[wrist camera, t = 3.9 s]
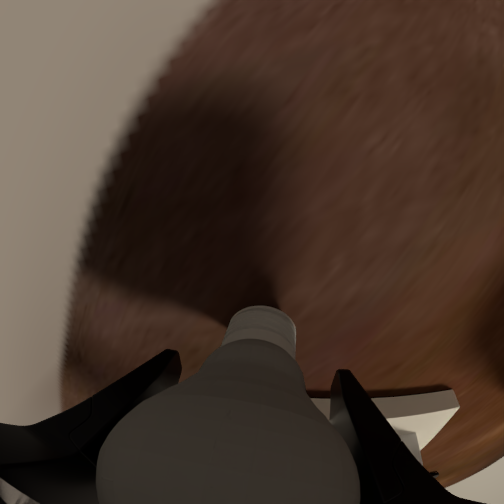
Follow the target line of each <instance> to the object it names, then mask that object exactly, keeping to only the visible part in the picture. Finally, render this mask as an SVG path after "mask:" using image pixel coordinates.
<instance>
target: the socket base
mask: <svg viewBox="0 0 504 504" xmlns="http://www.w3.org/2000/svg"><path fill="white" fill-rule="evenodd" d="M310 399H311V400H312V401H313V403H314V404H315V406H316V407H317V408H318V409H319V410H320V411H321V412H322V413H323V414H324V415H325V416H326V418H327V419H328V420H329V418H330V399H319V398H310ZM371 399H372V401H373V402H374V403H375V405H376V406H377V407H378V409H379V410H380V411H381V413H382V414H383V415H384V417H385V418H386V419H387V421H388V422H389V423H390V425H391V426H392V427H393V429H394V430H395V431H396V433H397V434H398V436H399V437H400V438H401V441H403V442H404V443H405V445H406V446H407V448H408V449H409V450H410V451H411V453H412V454H413V455H414V456H415V458H416V459H417V460H418V461H419V462H420V463H421V464H422V466H423V463H422V458H421V453H420V450H421V449H422V448H423V447H424V446H425V445H426V444H427V443H428V442H429V441H430V440H431V439H432V438H433V437H434V436H435V435H436V434H437V433H438V432H439V431H440V430H441V429H442V427H443V426H444V425H445V424H446V423H447V422H448V421H449V419H450V418H451V417H452V416H453V415H454V413H455V412H456V411H457V410H458V409H459V407H460V406H459V403H458V401H457V398H456V396H455V393H454V391H453V389H452V390H446V391H440V392H433V393H426V394H418V395H409V396H398V397H385V398H371Z"/></svg>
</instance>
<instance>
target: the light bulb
mask: <svg viewBox="0 0 504 504" xmlns="http://www.w3.org/2000/svg"><path fill="white" fill-rule="evenodd" d="M295 347H296V328H295V325H294V323H293V321H292V320H291V319H290V317H289V316H288V315H286V314H285V313H284V312H282V311H280V310H278V309H276V308H273V307H269V306H250V307H247V308H244V309H242V310H240V311H238V312H237V313H236V314H235V315H234V316H233V317H232V319H231V321H230V323H229V326H228V329H227V331H226V334H225V337H224V340H223V342H222V345H221V347H219V348H218V349H217V350H215V351H214V352H213V353H212V354H211V355H210V356H208V358H207V359H206V361H205V362H204V364H203V365H202V367H201V368H200V370H199V372H197V373H196V374H194V375H193V376H191V377H189V378H188V379H186V380H184V381H183V382H181V383H179V384H176V385H174V386H171V387H169V388H167V389H166V390H164V391H162V392H160V393H158V394H156V395H154V396H152V397H150V398H148V399H146V400H144V401H143V402H141V403H140V404H139V405H137V406H136V407H135V408H134V409H132V410H131V411H130V412H129V413H128V414H126V415H125V416H124V417H123V418H122V419H121V420H120V421H119V422H118V423H117V424H116V426H115V427H114V428H113V429H112V431H111V432H110V433H109V435H108V436H107V438H106V440H105V442H104V443H103V445H102V447H101V449H100V452H99V456H98V460H97V468H96V489H97V497H98V501H99V504H360V480H359V476H358V471H357V467H356V464H355V462H354V459H353V456H352V454H351V452H350V450H349V448H348V446H347V444H346V442H345V441H344V439H343V437H342V436H341V435H340V434H339V433H338V431H337V430H336V429H335V428H334V427H333V425H332V424H331V423H330V422H329V420H328V419H327V418H326V416H325V415H324V414H323V413H322V412H321V411H320V410H319V409H318V408H317V407H316V406H315V404H314V403H313V401H312V400H311V399H310V397H309V396H308V394H307V393H306V389H305V382H304V378H303V374H302V371H301V369H300V367H299V365H298V364H297V362H296V361H295Z"/></svg>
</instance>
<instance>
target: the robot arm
mask: <svg viewBox="0 0 504 504" xmlns="http://www.w3.org/2000/svg"><path fill="white" fill-rule="evenodd" d="M181 371H182V366H181V361H180V356H179V353H178V351H176V350H171V349H166V350H164V351H162V352H161V353H159V354H158V355H156V356H155V357H153V358H152V359H150V360H149V361H147V362H146V363H144V364H142V365H141V366H139V367H138V368H136V369H135V370H133V371H131V372H130V373H128V374H127V375H125V376H124V377H122V378H120V379H119V380H117V381H116V382H114V383H112V384H111V385H109V386H108V387H106V388H104V389H103V390H101V391H99V392H98V393H96V394H95V395H93V396H92V397H89V398H88V399H86V400H84V401H83V402H81V403H79V404H77V405H76V406H74V407H72V408H70V409H68V410H66V411H64V412H62V413H59V414H57V415H55V416H53V417H50V418H48V419H46V420H43V421H41V422H38V423H36V424H33V425H28V426H17V425H10V424H3V423H0V504H99V501H98V497H97V489H96V468H97V460H98V456H99V452H100V449H101V447H102V445H103V443H104V442H105V440H106V438H107V436H108V435H109V433H110V432H111V431H112V429H113V428H114V427H115V426H116V424H117V423H118V422H119V421H120V420H121V419H122V418H123V417H124V416H125V415H126V414H128V413H129V412H130V411H131V410H132V409H134V408H135V407H136V406H137V405H139V404H140V403H141V402H143V401H144V400H146V399H148V398H150V397H152V396H154V395H156V394H158V393H160V392H162V391H164V390H166V389H167V388H169V387H171V386H174V385H176V384H178V382H179V378H180V375H181ZM329 422H330V423H331V424H332V425H333V427H334V428H335V429H336V430H337V431H338V433H339V434H340V435H341V436H342V437H343V439H344V441H345V442H346V444H347V446H348V448H349V450H350V452H351V454H352V456H353V459H354V462H355V464H356V467H357V471H358V476H359V480H360V504H486V503H481V502H476V501H471V500H467V499H463V498H459V497H457V496H455V495H453V494H451V493H450V492H448V491H447V490H446V489H445V488H444V487H443V486H442V485H441V484H440V483H439V482H438V481H437V480H436V479H435V478H436V477H437V476H438V475H439V473H438V472H437V473H433V474H430V473H429V472H428V471H427V470H426V469H425V468H424V467H423V466H422V464H421V463H420V462H419V461H418V460H417V459H416V458H415V456H414V455H413V454H412V453H411V451H410V450H409V449H408V448H407V446H406V445H405V443H404V442H403V441H401V438H400V437H399V436H398V434H397V433H396V431H395V430H394V429H393V427H392V426H391V425H390V423H389V422H388V421H387V419H386V418H385V417H384V415H383V414H382V413H381V411H380V410H379V409H378V407H377V406H376V405H375V403H374V402H373V401H372V399H371V398H370V397H369V395H368V394H367V393H366V391H365V390H364V389H363V387H362V386H361V385H360V383H359V382H358V381H357V379H356V378H355V377H354V375H353V374H352V373H351V371H350V370H348V369H338V370H337V371H336V373H335V376H334V379H333V382H332V385H331V395H330V418H329Z"/></svg>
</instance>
